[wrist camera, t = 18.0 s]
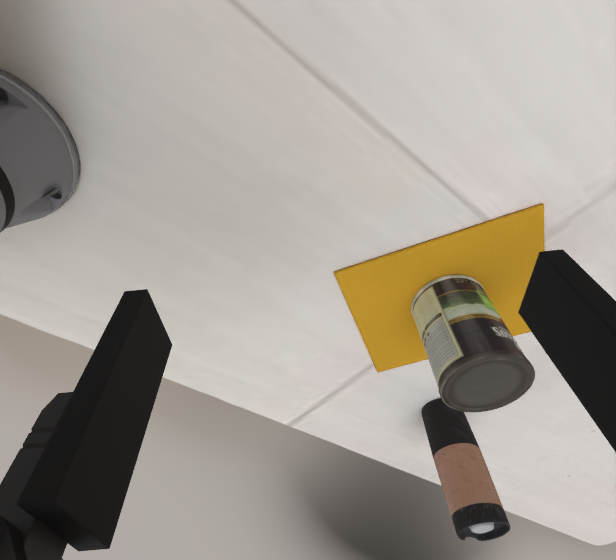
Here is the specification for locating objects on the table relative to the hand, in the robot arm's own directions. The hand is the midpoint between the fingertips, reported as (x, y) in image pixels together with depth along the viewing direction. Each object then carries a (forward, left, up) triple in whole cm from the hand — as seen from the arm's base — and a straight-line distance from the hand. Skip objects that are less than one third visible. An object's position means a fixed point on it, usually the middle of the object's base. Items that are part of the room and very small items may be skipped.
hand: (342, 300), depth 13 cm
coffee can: (+16, -29, -30) cm, 44 cm away
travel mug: (+18, -56, -30) cm, 66 cm away
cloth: (+16, -29, -30) cm, 45 cm away
